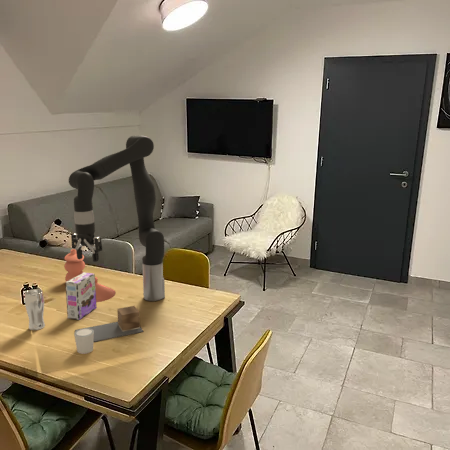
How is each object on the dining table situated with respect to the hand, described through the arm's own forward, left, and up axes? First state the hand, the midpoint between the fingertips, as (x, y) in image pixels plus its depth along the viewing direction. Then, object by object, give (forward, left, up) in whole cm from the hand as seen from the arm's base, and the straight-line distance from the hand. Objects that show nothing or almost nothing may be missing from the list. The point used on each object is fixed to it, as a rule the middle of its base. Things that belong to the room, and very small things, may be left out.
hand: (87, 260), depth 183 cm
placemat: (-4, +15, -26) cm, 30 cm away
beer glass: (+21, -2, -26) cm, 34 cm away
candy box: (+2, -8, -26) cm, 27 cm away
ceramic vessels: (-5, -33, -26) cm, 42 cm away
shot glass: (+8, +26, -26) cm, 38 cm away
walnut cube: (-12, +15, -26) cm, 32 cm away
